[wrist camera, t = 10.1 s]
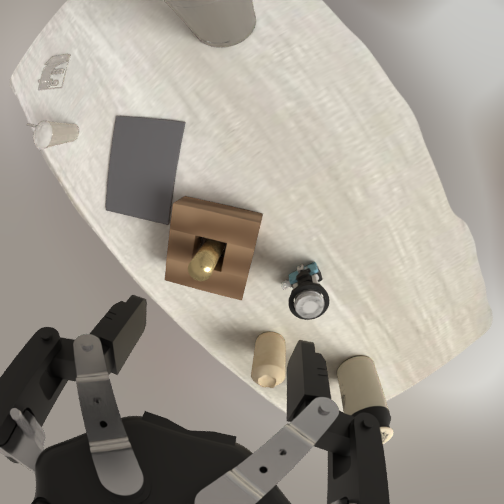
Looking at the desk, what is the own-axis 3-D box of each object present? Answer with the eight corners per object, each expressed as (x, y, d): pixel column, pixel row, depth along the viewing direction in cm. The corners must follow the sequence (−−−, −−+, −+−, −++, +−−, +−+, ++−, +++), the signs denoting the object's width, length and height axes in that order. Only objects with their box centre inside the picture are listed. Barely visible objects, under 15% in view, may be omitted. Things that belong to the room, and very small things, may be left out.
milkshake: (72, 112, 36) (33, 112, 27) (85, 131, 37) (46, 133, 28) (59, 131, 38) (21, 135, 28) (72, 150, 39) (33, 156, 30)
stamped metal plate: (73, 54, 32) (68, 53, 31) (64, 88, 35) (59, 87, 34) (47, 59, 32) (43, 58, 31) (39, 90, 35) (35, 90, 33)
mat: (117, 116, 36) (116, 115, 36) (185, 122, 36) (184, 122, 36) (106, 209, 42) (105, 210, 42) (168, 224, 42) (167, 224, 42)
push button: (289, 295, 45) (290, 333, 36) (273, 269, 44) (272, 304, 34) (326, 278, 43) (336, 313, 34) (312, 251, 42) (320, 282, 33)
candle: (276, 327, 48) (274, 366, 39) (290, 346, 49) (291, 386, 40) (249, 338, 49) (243, 377, 40) (265, 357, 51) (261, 396, 42)
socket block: (184, 196, 41) (173, 203, 36) (262, 213, 40) (260, 223, 36) (175, 266, 45) (164, 280, 41) (245, 284, 45) (241, 300, 41)
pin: (208, 230, 42) (189, 256, 33) (227, 235, 42) (213, 262, 33) (205, 248, 43) (186, 277, 34) (224, 253, 43) (209, 283, 34)
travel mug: (378, 354, 49) (402, 425, 32) (367, 380, 52) (384, 447, 35) (341, 355, 49) (356, 431, 33) (333, 381, 52) (343, 452, 36)
